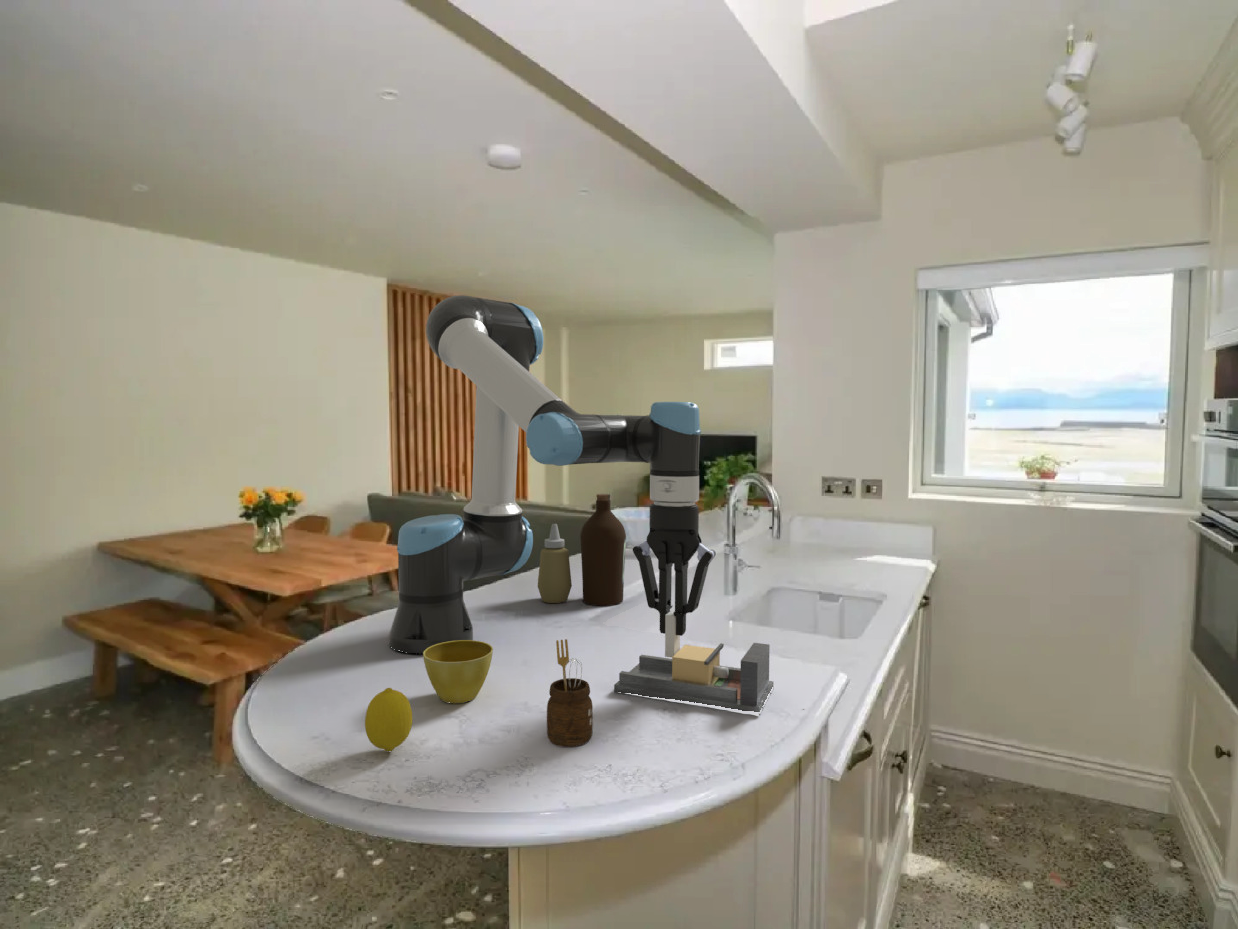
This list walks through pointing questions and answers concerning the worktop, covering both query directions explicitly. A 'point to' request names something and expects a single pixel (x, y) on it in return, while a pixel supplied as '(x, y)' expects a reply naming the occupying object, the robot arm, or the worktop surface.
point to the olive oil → (603, 556)
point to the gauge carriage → (698, 664)
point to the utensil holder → (569, 707)
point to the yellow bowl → (458, 668)
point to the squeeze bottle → (554, 569)
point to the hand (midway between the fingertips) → (672, 654)
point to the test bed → (734, 692)
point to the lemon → (388, 719)
